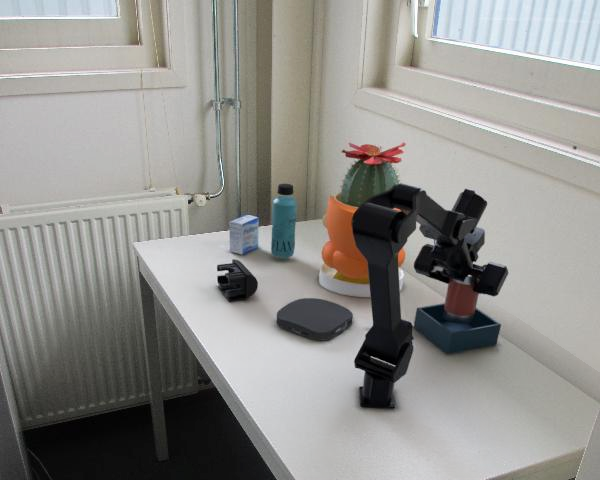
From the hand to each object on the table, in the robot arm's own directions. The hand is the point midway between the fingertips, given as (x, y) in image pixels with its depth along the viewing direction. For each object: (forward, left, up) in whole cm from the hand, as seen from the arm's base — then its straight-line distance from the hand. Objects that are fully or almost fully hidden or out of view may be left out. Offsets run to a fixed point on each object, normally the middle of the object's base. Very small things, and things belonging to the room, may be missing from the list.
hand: (466, 287), depth 146 cm
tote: (-1, +1, -11) cm, 11 cm away
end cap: (+15, +51, -12) cm, 55 cm away
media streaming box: (+1, +32, -12) cm, 34 cm away
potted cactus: (+23, +20, -12) cm, 33 cm away
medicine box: (+44, +52, -12) cm, 69 cm away
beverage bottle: (+39, +41, -12) cm, 58 cm away
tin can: (-1, +1, -7) cm, 7 cm away
